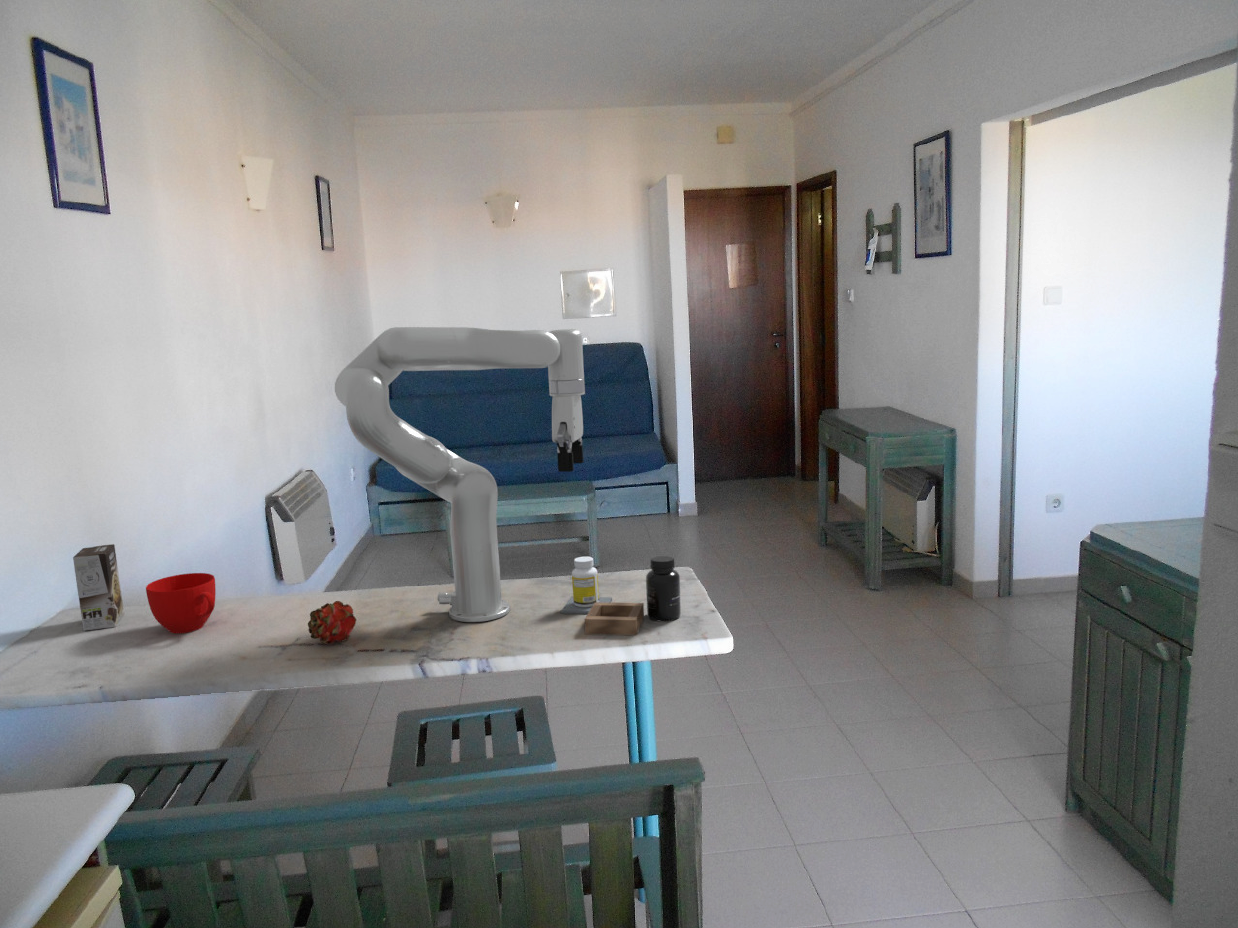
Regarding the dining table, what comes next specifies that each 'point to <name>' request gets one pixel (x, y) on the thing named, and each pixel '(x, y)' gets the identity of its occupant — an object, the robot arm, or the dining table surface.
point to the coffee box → (98, 587)
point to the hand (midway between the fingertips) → (571, 467)
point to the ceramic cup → (182, 601)
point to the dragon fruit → (332, 622)
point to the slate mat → (573, 609)
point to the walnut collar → (614, 618)
